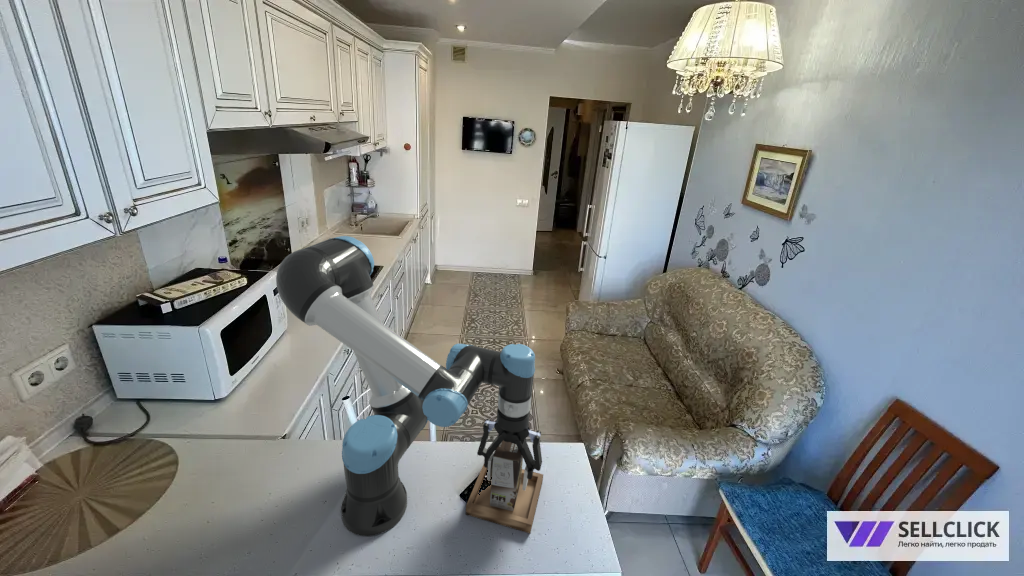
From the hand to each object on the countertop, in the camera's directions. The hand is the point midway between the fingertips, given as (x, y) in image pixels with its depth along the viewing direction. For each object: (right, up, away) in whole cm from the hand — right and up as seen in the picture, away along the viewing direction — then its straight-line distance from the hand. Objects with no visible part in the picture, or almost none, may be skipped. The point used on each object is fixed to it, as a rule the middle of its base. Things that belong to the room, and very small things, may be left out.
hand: (507, 481), depth 102 cm
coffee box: (0, -5, +2) cm, 5 cm away
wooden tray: (0, -5, +2) cm, 6 cm away
